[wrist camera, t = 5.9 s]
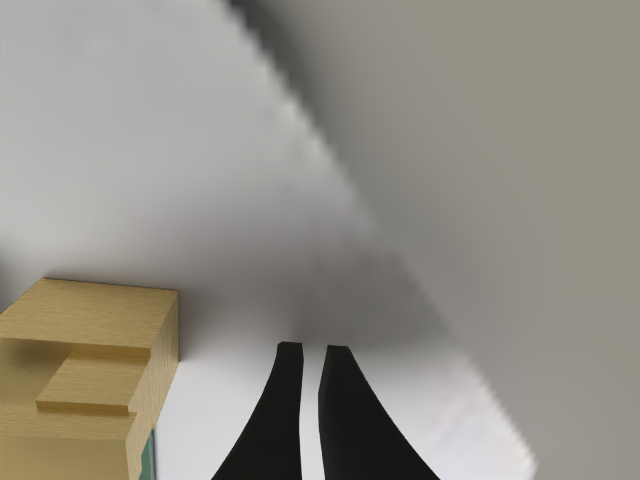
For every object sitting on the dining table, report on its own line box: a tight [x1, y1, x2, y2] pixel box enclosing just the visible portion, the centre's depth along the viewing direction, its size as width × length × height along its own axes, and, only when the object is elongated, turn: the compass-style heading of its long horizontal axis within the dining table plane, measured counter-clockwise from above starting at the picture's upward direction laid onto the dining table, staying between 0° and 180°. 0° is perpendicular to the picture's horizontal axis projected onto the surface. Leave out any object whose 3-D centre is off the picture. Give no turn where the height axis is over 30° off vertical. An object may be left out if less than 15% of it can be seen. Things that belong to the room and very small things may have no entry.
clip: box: [0, 278, 179, 480], centre depth 10 cm, size 3×5×5 cm, turn 81°
